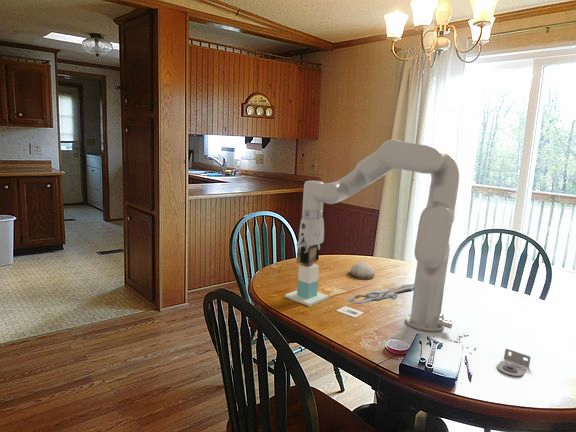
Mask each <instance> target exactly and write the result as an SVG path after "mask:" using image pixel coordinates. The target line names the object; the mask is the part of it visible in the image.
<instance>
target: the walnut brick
mask: <svg viewBox="0 0 576 432" xmlns="http://www.w3.org/2000/svg"><path fill="white" fill-rule="evenodd" d="M296 247H297V246H296ZM305 247H306V246H304V248H305ZM307 253H308V263H307V264H306V265H311V264H316V263H317V260H316V256H317V247H315V246H309V248H308V251H307ZM300 256H301V252H300V250H299V248H298V247H297V249H296V263H298V264H305V263H302V262H300Z"/></svg>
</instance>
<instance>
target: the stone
mask: <svg viewBox="0 0 576 432" xmlns="http://www.w3.org/2000/svg"><path fill="white" fill-rule="evenodd" d="M350 274H351V275H352V276H353V278H354V277H355V278H356V279H360V280H361V279H362V280H370V279H372V278H373V277H375V276H376V272H375V268H373V266H372V265H371V264H370V263H368V262H366V261H364V260H359V261H357V262H356V263H353V265H352V266H351V267H350Z"/></svg>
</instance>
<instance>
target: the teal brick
mask: <svg viewBox="0 0 576 432" xmlns="http://www.w3.org/2000/svg"><path fill="white" fill-rule="evenodd" d="M318 285H319V280H318V281H316V282H313V283H310V284H309V283H306V282H303V281H300V280H298V279H297V289H296V290H297V295H299V296H301V297H304V298H307V299H309V298H312V297H315V296H317V292H318V290H319V289H318V287H319V286H318Z"/></svg>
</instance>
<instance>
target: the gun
mask: <svg viewBox="0 0 576 432" xmlns="http://www.w3.org/2000/svg"><path fill="white" fill-rule="evenodd" d="M406 291H414V283H413V284H411V283H407V284H403V285H400V286H395V287H393V288H388V289H382V290H380V289H379V290H373V291H370V292H369V291H368V292H366V293H365V295H364V294H357V295H355V296H349V297H348V298H349V299H347V301H348V302H350V303H352V304H359V305H360V304H366V303H369V302H374V301H376V302H377V301H381V300H385V299H388V298H391V299H392V300H396V298H397V297H398V295H399V294H400V293H404V292H406ZM399 296H400V295H399ZM360 297H362V298H363V299H362V300H359V301H357V300H355V299H359V298H360Z"/></svg>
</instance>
